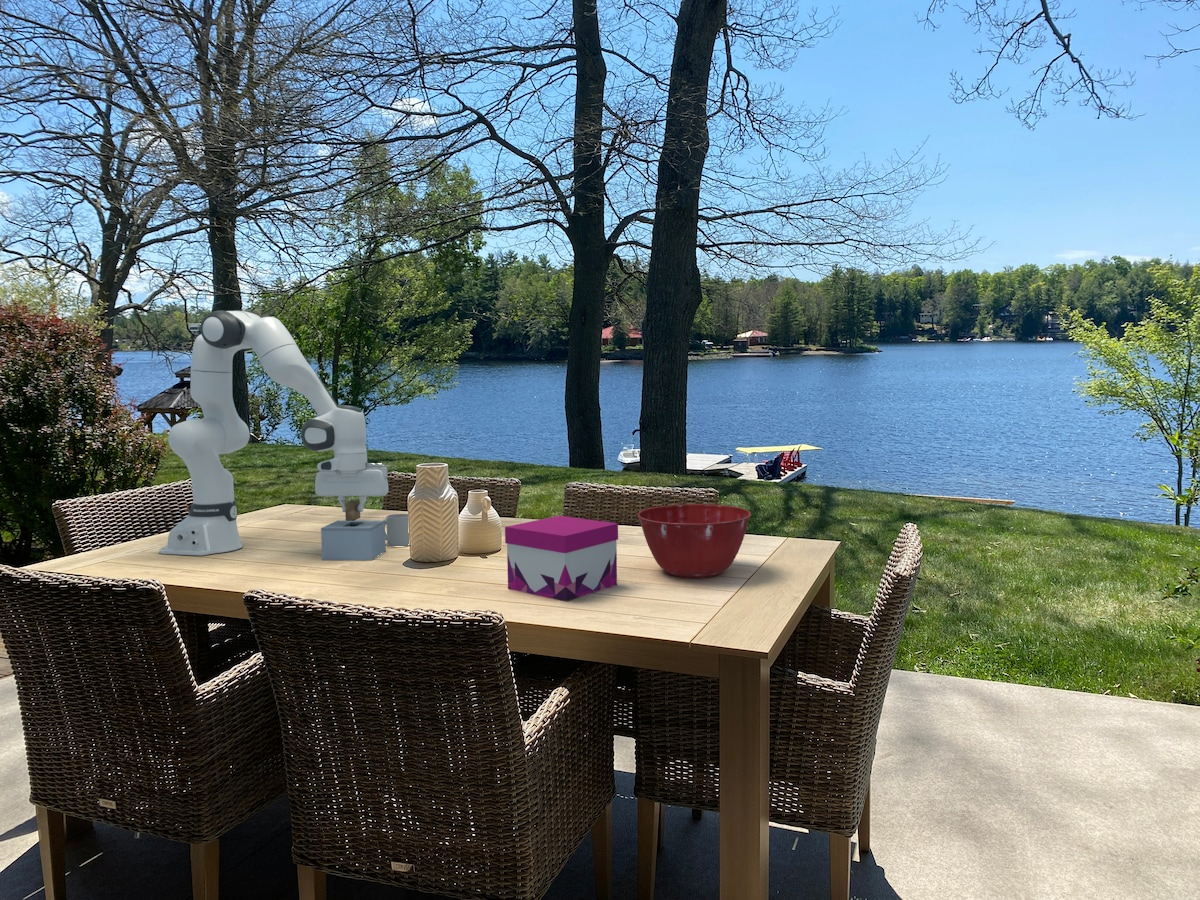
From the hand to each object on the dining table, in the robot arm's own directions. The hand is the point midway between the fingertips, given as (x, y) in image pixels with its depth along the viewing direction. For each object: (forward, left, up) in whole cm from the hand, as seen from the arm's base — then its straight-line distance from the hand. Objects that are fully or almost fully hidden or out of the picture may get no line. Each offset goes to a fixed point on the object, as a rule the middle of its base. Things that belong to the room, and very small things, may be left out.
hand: (352, 511), depth 237 cm
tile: (0, 0, -2) cm, 2 cm away
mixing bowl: (+95, -18, -13) cm, 98 cm away
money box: (0, 0, -13) cm, 13 cm away
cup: (+7, +15, -13) cm, 21 cm away
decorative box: (+63, -34, -13) cm, 73 cm away
